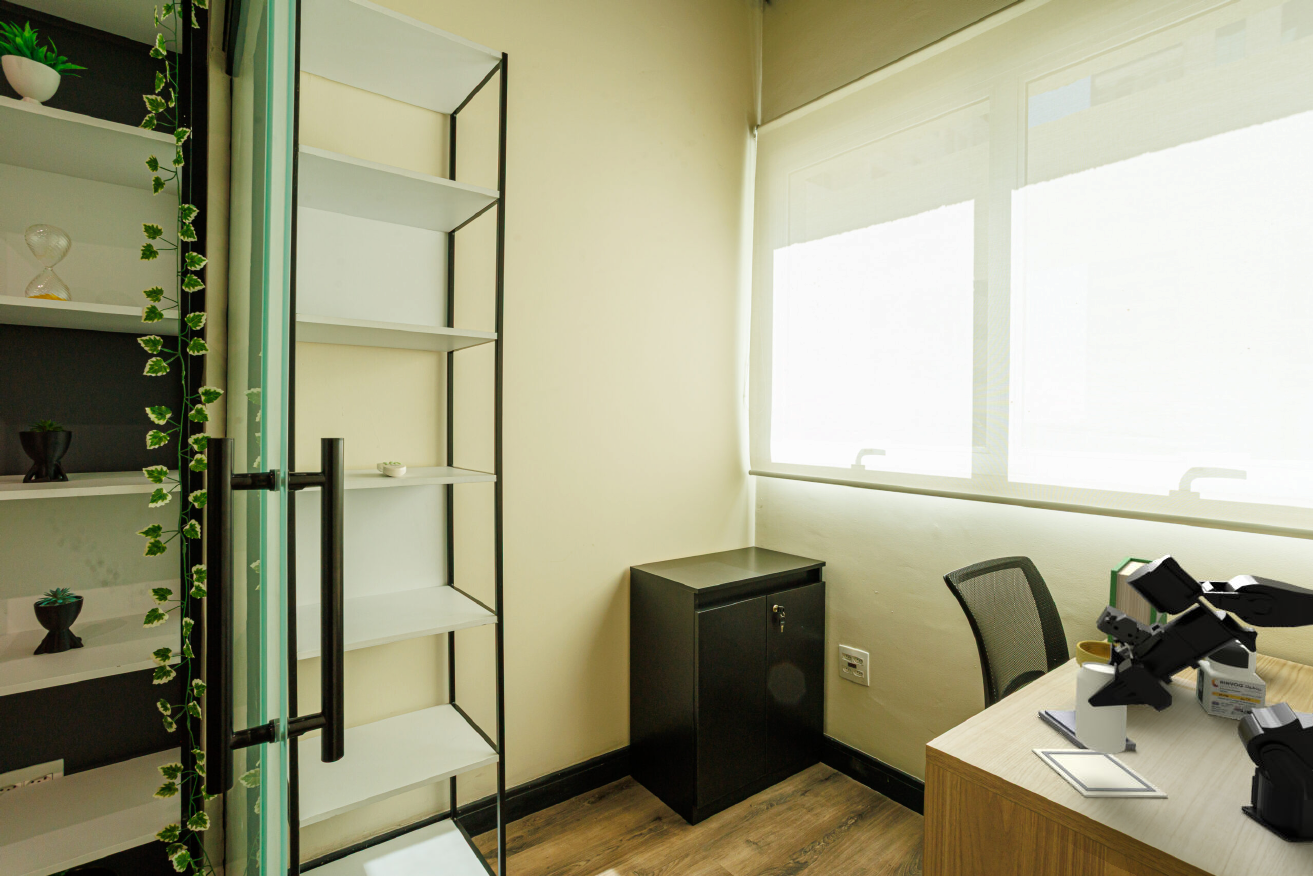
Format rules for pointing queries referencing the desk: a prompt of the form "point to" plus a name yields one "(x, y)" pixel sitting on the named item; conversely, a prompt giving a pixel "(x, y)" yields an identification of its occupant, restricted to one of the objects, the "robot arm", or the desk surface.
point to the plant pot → (1093, 652)
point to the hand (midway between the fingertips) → (1089, 696)
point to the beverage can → (1098, 712)
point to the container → (1230, 682)
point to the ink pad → (1069, 725)
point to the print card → (1098, 773)
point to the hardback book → (1131, 595)
